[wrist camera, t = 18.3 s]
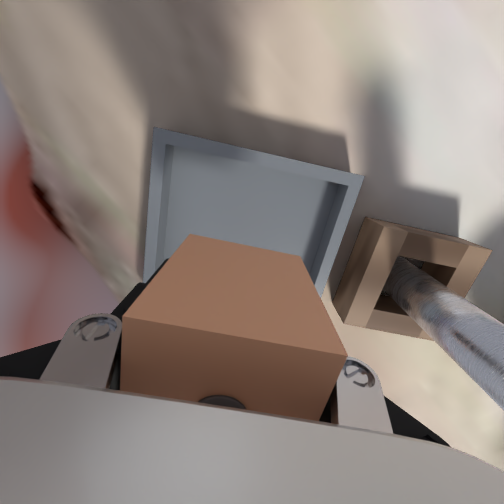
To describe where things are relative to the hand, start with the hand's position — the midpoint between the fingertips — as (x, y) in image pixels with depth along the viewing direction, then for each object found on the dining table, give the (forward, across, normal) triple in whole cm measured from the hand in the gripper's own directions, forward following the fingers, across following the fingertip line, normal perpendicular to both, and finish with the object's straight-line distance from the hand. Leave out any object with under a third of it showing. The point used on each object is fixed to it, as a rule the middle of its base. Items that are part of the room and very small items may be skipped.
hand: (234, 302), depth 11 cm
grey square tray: (+10, 0, 0) cm, 10 cm away
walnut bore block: (+10, -13, 0) cm, 16 cm away
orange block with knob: (+1, 0, 0) cm, 1 cm away
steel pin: (+10, -13, 0) cm, 16 cm away
